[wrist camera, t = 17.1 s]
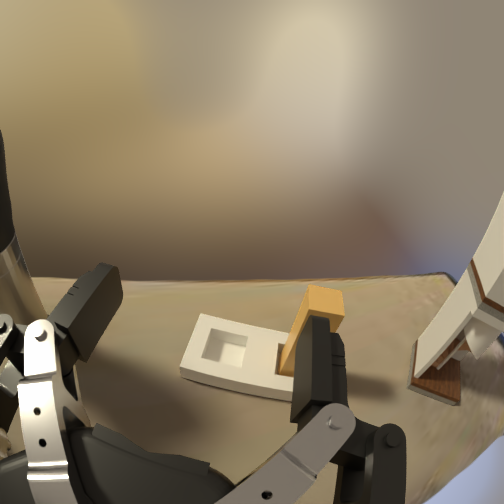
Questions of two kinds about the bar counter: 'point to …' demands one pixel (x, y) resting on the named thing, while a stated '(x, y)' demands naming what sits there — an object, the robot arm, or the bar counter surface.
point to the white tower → (463, 320)
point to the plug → (313, 303)
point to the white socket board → (237, 358)
